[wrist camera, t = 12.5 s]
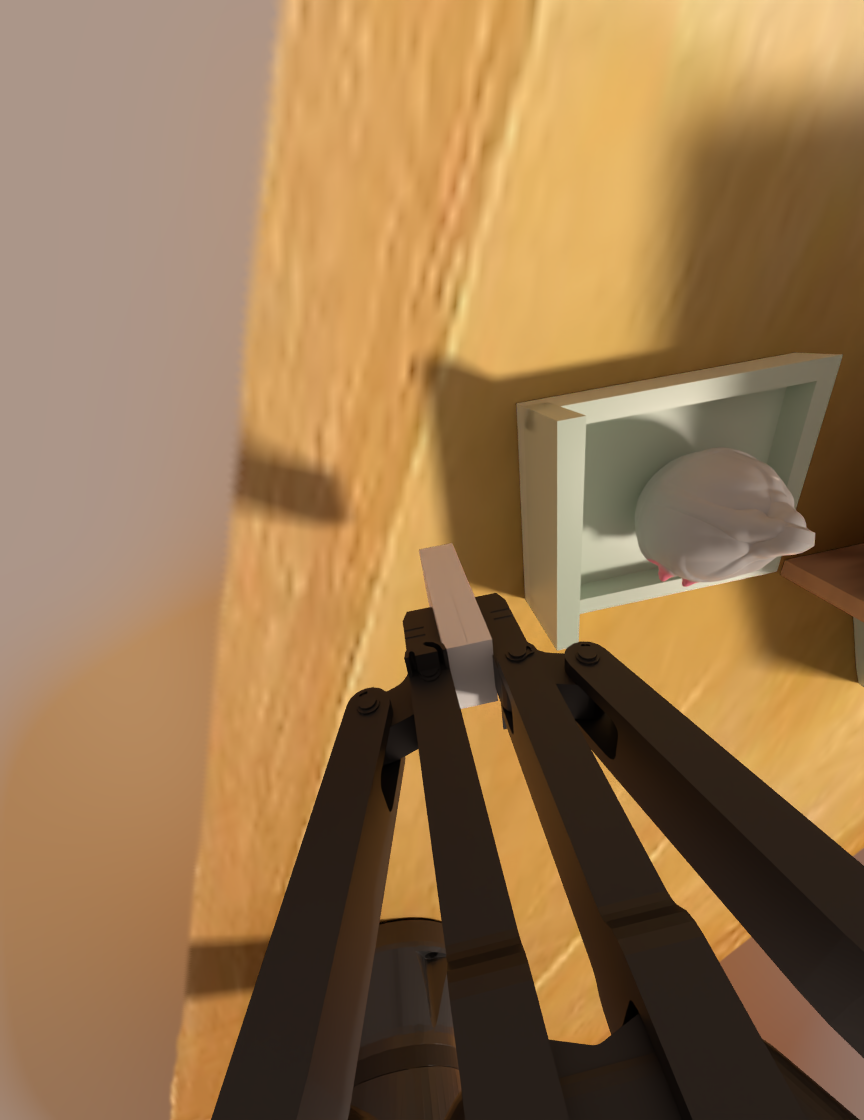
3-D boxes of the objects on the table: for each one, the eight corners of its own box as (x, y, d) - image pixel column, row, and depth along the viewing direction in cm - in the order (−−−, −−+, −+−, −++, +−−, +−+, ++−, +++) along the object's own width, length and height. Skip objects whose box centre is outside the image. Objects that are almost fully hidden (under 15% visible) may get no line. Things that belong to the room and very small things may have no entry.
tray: (524, 599, 27) (557, 650, 22) (516, 403, 21) (557, 420, 16) (744, 553, 28) (815, 593, 23) (794, 352, 22) (903, 356, 17)
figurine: (587, 540, 24) (679, 623, 17) (650, 420, 21) (791, 461, 14) (675, 563, 26) (791, 647, 19) (744, 455, 23) (911, 507, 16)
